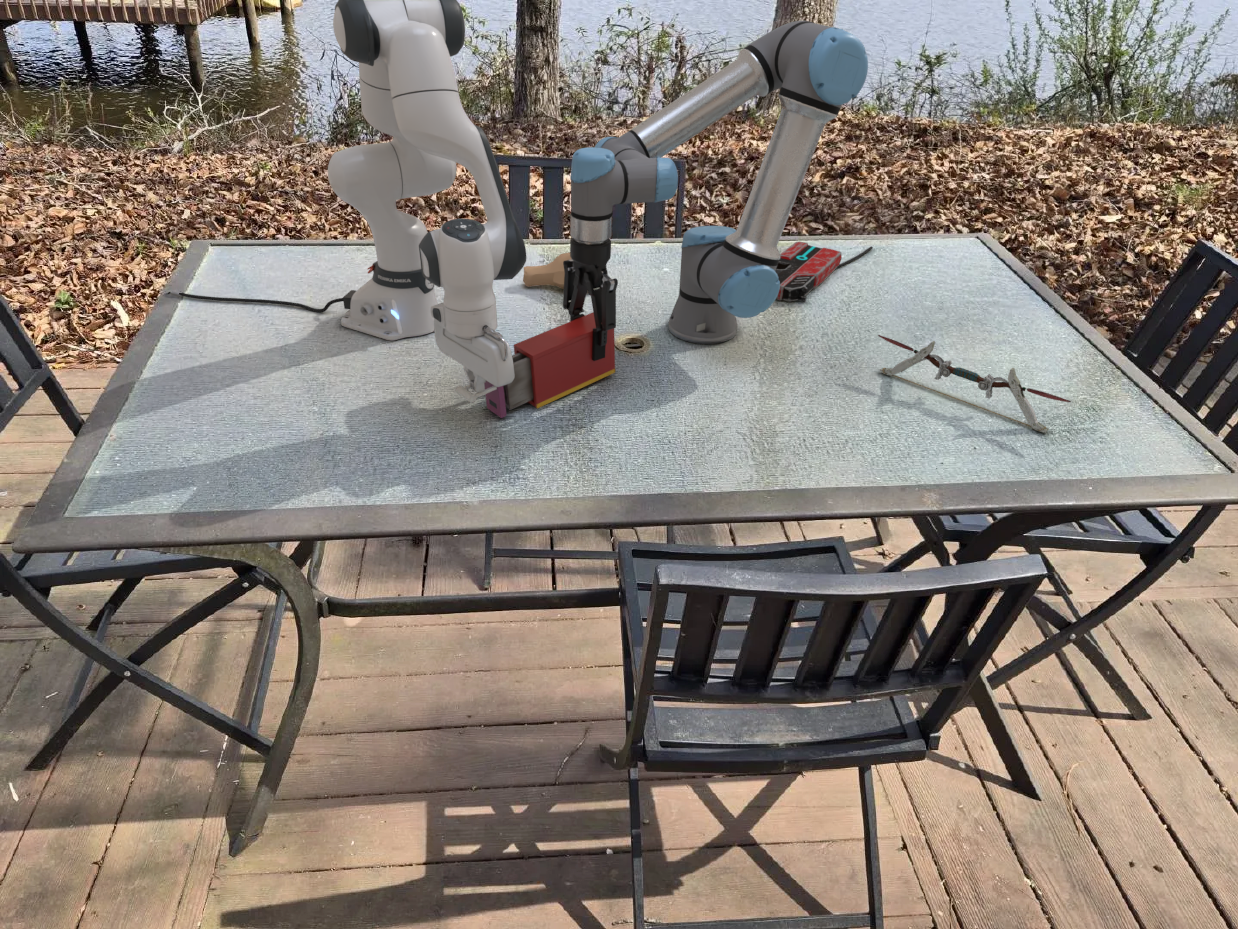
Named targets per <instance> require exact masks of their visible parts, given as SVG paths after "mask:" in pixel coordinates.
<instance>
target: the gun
mask: <svg viewBox="0 0 1238 929" xmlns="http://www.w3.org/2000/svg"><path fill="white" fill-rule="evenodd" d="M779 254H780V256H781V257H780V260H779V263H778V265H777V268H776V270H775V272H776V273H777V275H778V280H779V281H780V289H779V293H778V295H777V298H776V300H777V301H785V302H790V303H791V302H794V301H800V302H802V303H805V302H806V300H807V295H808V294H809V293H810V292H811V291H812V290H815V289H817V287H819V286H820V285H821V284H823V283H824V282H825V281H826V279H828V278H829V277H830V275H831V274H832V273H833V272H834V271H835V270H837V269H838V268H837V267H838V266H839V264H841V263H842V257H843V255H842V251H840V250H837V249H833V248H827V247H818V246H815V245H810V244H809V243H808V242H804V241H794V243H793V244H791V245H790V246H788V247H787V248H786V249H785V250H783V251H782V252H780V253H779ZM836 268H837V269H836Z"/></svg>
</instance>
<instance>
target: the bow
mask: <svg viewBox="0 0 1238 929" xmlns="http://www.w3.org/2000/svg"><path fill="white" fill-rule="evenodd" d="M877 336H878V337H879V338H881V339H883V340H884V341H886V342H888V343H890V344H892V345H895V346H897V347H899V348H902V349H904V350H907V351H910V352H913V354H914V356H912V357H908V358H906V359H904V360H902V361H900V362H899V363H897V364H896V365H895V366H893V367H891V368H890V367H882V368H880V369H879V371H880V373H882V374H883V375H886V376H892V377H895V378H898V379H901V380H902V381H906V382H909V383H912V384H914V385H917V386H920V387H922V388H925V389H928V390H931V391H933V392H935V393H939V394H941V395H944V396H946V397H949V398H952V399H955V400H956V401H960V402H963V403H966V404H968V405H971V406H973V407H975V408H979V409H982V410H984V411H986V412H989V413H992V414H995V415H998V416H1000V417H1003V418H1006V419H1008V420H1012V421H1014V422H1017V423H1019V424H1022V425H1024V426H1028V427H1030V428H1032V429H1033V430H1035V431H1037V432H1040V433H1042V434H1043V433H1044V434H1045V433H1047V432H1048V431H1049V430H1050V428H1048V427H1047V426H1045V425H1044V424H1042V423H1041V422H1040V421H1039V420H1038V417H1037V415H1036V411H1035V410H1034V408H1033V406H1032V405H1031V403H1030V401H1029V399H1028V398H1027V397H1026V395H1025V394H1024V392H1025V391H1027V392H1028V393H1031V394H1033V395H1037V396H1040V397H1043V398H1047V399H1050V400H1054V401H1057V402H1058V401H1059V402H1065V403H1071V402H1072V400H1069V399H1066V398H1063V397H1060V396H1059V395H1054V394H1052V393H1048V392H1045V391H1042V390H1037V389H1034V388H1029V387H1028V388H1027V387H1025V386H1022V384H1021V380H1020V379H1019V377H1018V376H1017V372H1016V369H1015V368H1014V367H1011V368H1010V369H1009V372H1008V376H1007V379H1006V378H1003V377H1001V376H997V377H995V376H993V375H991V373H988V374H986V376H984V377H982V376H981V375H980V374H978V373H977V372H975V371H973V370H969V369H966V368H963V367H953V366H951V365H952V360H944V359H943V358H942V357H941V356H940V355H938V354H932V352H933V351H934V349H935V345H936V341H935V340H932V341H931V342H930V343H929V344H928V345H927V346H925V347H922V348H921V349H920V350H918V349H914V348H913V347H911V346H909V345H907V344H905V343H902V342H901V341H898V340H895V339H892V338H889V337H886V336H882V335H880V334H877ZM923 361H928V362H930V363H931V364H932V365H933V366H934V367H936V368H937V369H938V370H937V373H935V377H934V380H936V381H940V380H941V379H942V377H944V378H948V377H950V376H951V375H954V376H957V377H960V378H962V379H965V380H968V381H970V382H973V383H976V384H977V383H978V384H977V387H978V389H979V390H981V391H986V392H985V398H986V399H989V400H990V399H991V398H992V397H993V393H994V392H993V389H994V388H995V389H996V388H997V389H999V388H1001V389H1002V388H1006V389H1007V388H1008V390H1009V391H1010V392H1011V394H1012V395H1013V397H1014V399H1015V401H1016V402H1017V405H1018V408H1019V409H1020V411H1021V413H1022V414H1023V416H1024V419H1025V420H1026V422H1027V423H1025V422H1022V421H1019V420H1016V419H1014V418H1011V417H1010V416H1006V415H1003V414H1000V413H997V412H995V411H993V410H991V409H987V408H984V407H982V406H979V405H976V404H973V403H970V402H968V401H966V400H962V399H961V398H957V397H955V396H951V395H949V394H947V393H944V392H942V391H941V392H940V391H938V390H935V389H932V388H930V387H927V386H924V385H922V384H919V383H916V382H914V381H911V380H908V379H905V378H903V377H900V376H898V375H897V374H900V373H903V372H904V371H906V370H908V369H909V368H911V367H912V366H914V365H917V364H919V363H922V362H923Z"/></svg>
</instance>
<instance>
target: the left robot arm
mask: <svg viewBox="0 0 1238 929" xmlns="http://www.w3.org/2000/svg"><path fill="white" fill-rule="evenodd" d="M332 27H333V34H334V37H335V39H336V42H337V44H338V45H339V48H340V50H341V52H342V54H343V55H344V56H345V57H346V58H348V59H349V60H351V61H352V62H356V63H358V76H359V78H358V79H359V92H360V106H361V109H360V110H361V113H362V115H363V117H364V120H365V121H366V122H367V123H368V124H369V125H370V126H371V127H373V128H374V129H376V130H377V131H378V132H381V133H383V134H386V135H388V136H392V140H391V141H388V142H378V143H370V144H369V143H368V144H360V145H354V146H351V147H347V148H343V149H341V150H338V151H336V152H335V151H334V153H333V154H332V156H331V157H330V159H329V161H328V164H327V179H328V182H329V186H330V188H331V189H332V192H334V194H335V195H336V196H337V197H338V198H339V199H340V200H341V201H343V202H344V203H346V204H348V205H350V206H351V207H353V208H354V209H355V210H356V211H358V212H359V213H360V214H361V216H362V217H363V218H364V220H365V221H366V222H367V224H368V226H369V228H370V231H371V235H372V240H373V243H374V248H375V253H376V254H375V255H376V261H374V262H373V263H372V265H371V266H369V267H368V268H367V274H370V273H372V277H371V278H370V279H369V280H367V282H365V283H364V284H363V285H362V286H360V287H359V288H358V289H356V290H354V289H351V290H349V291H348V292H347V293H346V294H345V295H344V296H342V297H340V298H334V299H332V300H330V301H328V302H327V303H326V304H325V306H324V307H323V308H314V307H311V306H308V305H306V304H303V303H299V302H292V301H284V300H276V299H259V298H242V297H241V298H240V297H239V298H238V297H218V296H207V295H206V296H205V295H198V294H190V293H185V292H182V293H179V294H178V295H179V296H181V297H185V298H189V299H196V300H205V301H216V302H232V303H233V302H235V303H254V304H255V303H257V304H272V305H283V306H291V307H296V308H301V309H304V310H307V311H310V312H314V313H324V312H326V311H328V309H329V308H330V307H331V305H333V304H336V303H341V302H342V303H343V307H344V310H347V311H346V313H344V314H343V316H342V317H341V320H340V324H341V326H342V327H344V328H347V329H350V330H354V331H357V332H360V333H364V334H367V335H370V336H373V337H377V338H380V339H383V340H387V341H396V340H397V341H398V340H401V339H404V338H412V337H420V336H423V335H427V334H430V333H431V334H432V333H434V338H435V343H436V345H437V349H438V350H439V352H440V353H442V354H444V355H445V356H447V357H449V358H450V359H452V360H453V361H455V362H456V363H458V364H460V365H461V366H463V371H464V373H465V376H466V378H467V380H468V385H469V388H471V389H470V390H472V391H474V392H475V393H479V392H482V391H484V390H485V386H484V382H485V380H486V381H488V382H490V383H491V384H493V385H494V386H496V387H500V386H504V385H507V384H509V383H511V382H512V381H513V380H514V377H515V374H514V365H513V359H512V355H513V353H512V348H511V347H510V344H509V343H508V341H507V340H506V339H505V338H504V336H503V334H502V333H501V332H498V331H496V330H497V328H498V312H497V311H498V310H497V298H496V295H495V292H494V287H493V285H494V281H503V280H504V281H505V280H506V281H507V280H513V279H514V278H515V277H516V276H518V274H519V273H520V272H521V271H522V269H524V267H525V264H526V263H527V248H526V243H525V241H524V238H523V235H522V232H521V231H520V228H519V226H518V223H517V221H516V219H515V216H514V213H513V210H512V206H511V204H510V201H509V198H508V195H507V191H506V189H505V186H504V183H503V179H502V176H501V173H500V170H499V166H498V164H497V160H496V158H495V155H494V153H493V152H494V151H493V148H492V146H491V144H490V141H489V139H488V137H487V135H486V133H485V131H484V129H483V128H482V127H480V126H479V125H477V124H474V123H473V122H472V121H471V119H470V118H469V116H468V115H467V113H466V111H465V109H464V107H463V104H462V101H461V99H460V93H459V87H458V82H457V78H456V72H455V69H454V65H453V62H452V58H451V57H454V56H456V55H458V54H459V53H460V51H461V50H462V48H463V47H464V44H465V39H466V21H465V17H464V13H463V10H462V6H461V4H460V3H459V1H458V0H337V2H336V4H335V6H334V12H333V19H332ZM457 164H459V165H460V166H462V167H463V168H465V169H466V170H467V171H468V172H469V174H470V175H471V176H472V178H473V180H474V183H475V186H476V189H477V193H478V195H479V199H480V201H481V204H482V207H483V210H484V213H485V216H486V222H485V223H482V222H480V221H479V220H476V219H472V218H465V217H464V218H454V219H449V220H448V221H446V222H443V224H441V226H440V228H438V229H433V230H431V231H430V230H429V231H428V229H427V226H426V225H425V223H424V222H423V221H422V220H421V219H420V218H419V217H417V216H415V215H412V214H410V213H408V212H404V211H402V210H399V209H398V208H397V201H399V200H404V199H411V198H419V197H426V196H432V195H434V194H438V193H440V192H443V191H445V190H448V189H451V187H452V186H453V184H454V182H455V180H456V176H457V168H458V167H457ZM435 286H436V287H437V288H442V289H443V292H444V295H443V302H441V303H438V300H437V296H436V291H435Z"/></svg>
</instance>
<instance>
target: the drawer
mask: <svg viewBox="0 0 1238 929" xmlns="http://www.w3.org/2000/svg"><path fill="white" fill-rule="evenodd" d="M512 359H513V365H514V374H515V377H514V380H513V381H512V382H511V383H509V384H507V385H504V386H500V387H496V386H494V385H493V384H491V383H490V382H488V381H486V380H485V382H484V386H485V390H484V391H482V392H479V393H477V392H475V393H473V392H472V391H470V390H472V389H471V388H469V384H467V385H464V386H462V385H457V387H456V388H455V393H456V394H457V395H459V396H460V397H462V398H463V399H465V400H466V401H468V402H469V403H470V404H473V403H475V402H476V401H477V399H478V398H480V397H483V396H485V403H486V409H487V410H489V411H490V412H492V413H493V414H494V415H496V416H497V417H499V418H501V419H503V418H506V417H507V416H508V414H507V409H508V410H509V411H512V410H513V409H515V408H518V407H520V406H523V405H524V404H527V403H528V402H529V401H531V400H533V399H534V395H533V384H532V373H531V361H530V358H529V357H527V356H525V355H524V354H522V353H520V352H519V353H517V354H512Z"/></svg>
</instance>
